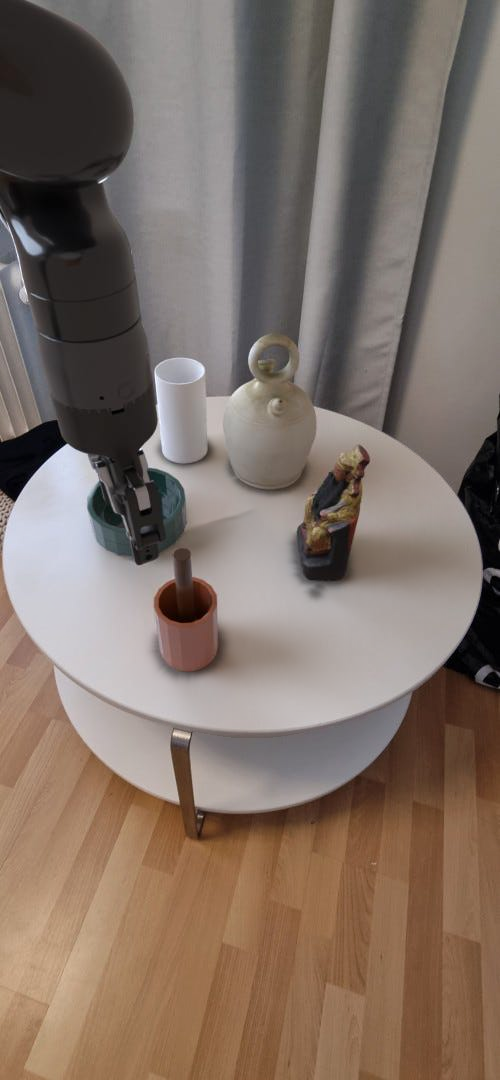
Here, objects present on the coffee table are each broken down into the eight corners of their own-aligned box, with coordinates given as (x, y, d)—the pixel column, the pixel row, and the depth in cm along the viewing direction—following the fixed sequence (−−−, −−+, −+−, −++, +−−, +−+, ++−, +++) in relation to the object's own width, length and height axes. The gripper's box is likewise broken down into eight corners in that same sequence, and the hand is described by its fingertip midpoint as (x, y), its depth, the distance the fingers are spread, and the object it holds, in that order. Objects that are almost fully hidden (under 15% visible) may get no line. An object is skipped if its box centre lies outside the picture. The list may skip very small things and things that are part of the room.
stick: (182, 654, 76) (174, 563, 63) (176, 642, 78) (167, 551, 65) (201, 646, 77) (196, 556, 64) (194, 635, 79) (189, 544, 65)
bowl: (110, 573, 86) (104, 545, 82) (82, 510, 95) (75, 482, 90) (201, 541, 91) (200, 513, 87) (166, 485, 100) (163, 457, 95)
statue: (294, 531, 93) (308, 428, 78) (344, 534, 93) (367, 431, 78) (296, 591, 85) (311, 488, 70) (351, 594, 85) (377, 491, 70)
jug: (231, 436, 110) (232, 306, 91) (313, 446, 108) (331, 316, 90) (215, 490, 99) (213, 355, 81) (306, 502, 98) (324, 368, 80)
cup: (191, 469, 103) (186, 389, 91) (153, 453, 105) (144, 374, 94) (216, 444, 108) (214, 366, 96) (179, 430, 110) (173, 352, 99)
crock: (173, 680, 74) (168, 636, 67) (151, 635, 79) (144, 589, 72) (227, 657, 77) (227, 612, 70) (203, 615, 81) (201, 568, 74)
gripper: (26, 342, 46) (70, 494, 58) (76, 445, 37) (116, 598, 49) (118, 322, 48) (142, 472, 60) (185, 414, 40) (198, 567, 52)
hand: (130, 528), depth 55 cm, fingers open, 8 cm apart
